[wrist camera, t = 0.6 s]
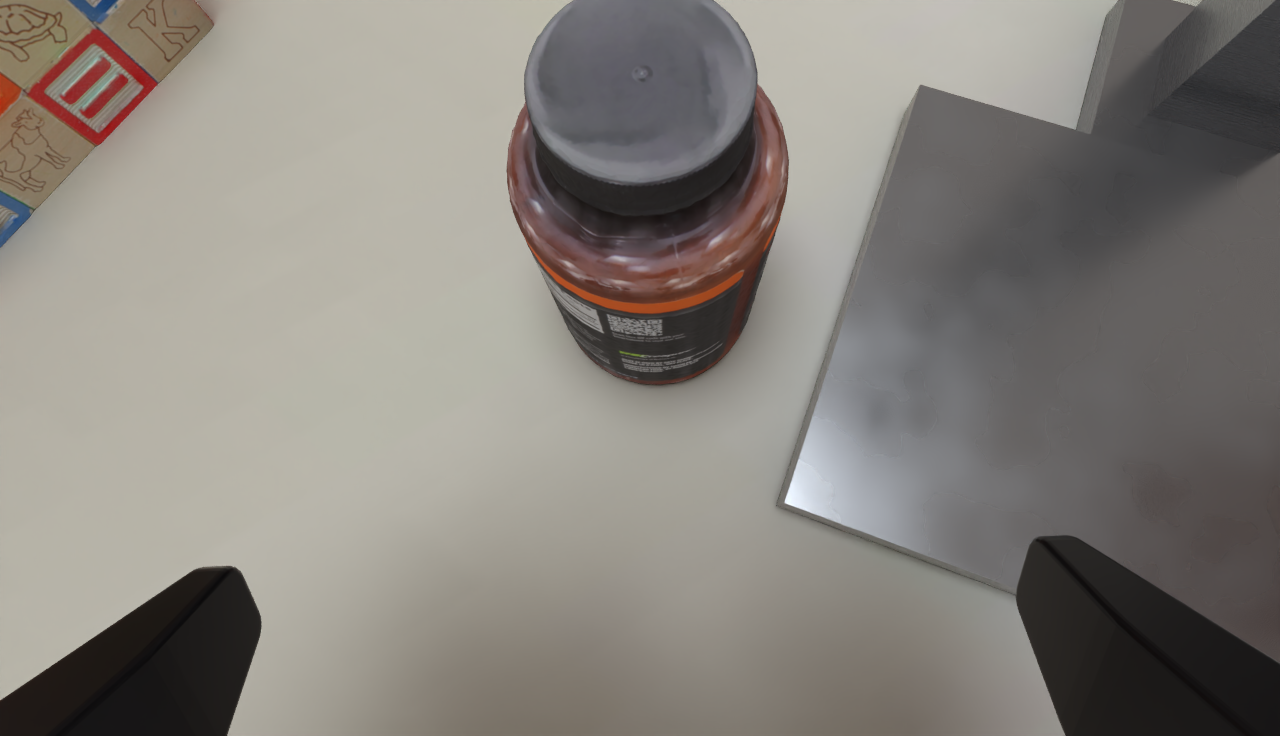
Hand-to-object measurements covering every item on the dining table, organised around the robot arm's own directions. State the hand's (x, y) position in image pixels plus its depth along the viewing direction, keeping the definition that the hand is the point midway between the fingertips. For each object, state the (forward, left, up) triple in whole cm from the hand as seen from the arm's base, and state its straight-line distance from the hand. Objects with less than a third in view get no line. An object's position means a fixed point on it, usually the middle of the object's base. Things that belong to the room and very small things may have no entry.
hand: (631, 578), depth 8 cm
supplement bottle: (+6, -5, -13) cm, 16 cm away
